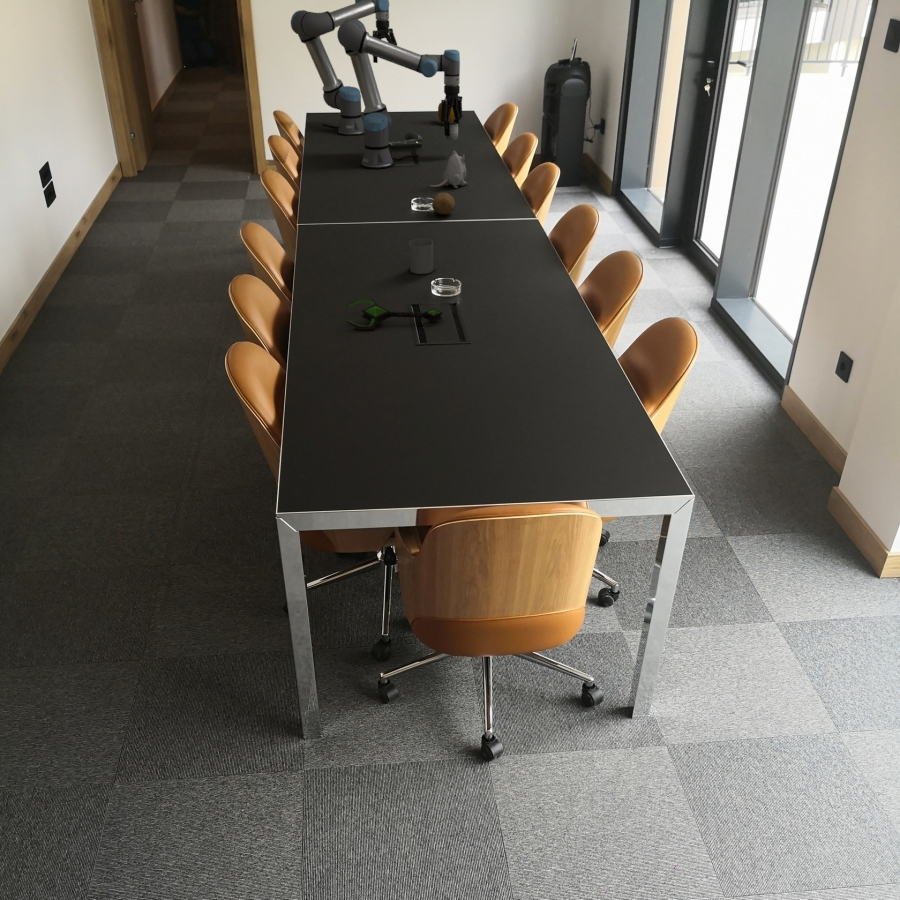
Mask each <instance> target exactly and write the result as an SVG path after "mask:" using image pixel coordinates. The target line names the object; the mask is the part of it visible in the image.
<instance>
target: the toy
mask: <svg viewBox="0 0 900 900" xmlns="http://www.w3.org/2000/svg"><path fill="white" fill-rule="evenodd" d="M466 178H467V168H466V156H465V153H463V154H462V155H459V154H458V153H457V151H456V150H455V149H453V150H452V153H451V155H450V156H449V158H448V161H447V163H446V166H445V170H444V171H443V177H442V179H443V181H442V182H441V183H439V184H436V185H435V184H433V185H432V184H430V185H428V186H429V187H434V188H440V187H443V186H446V187H448V186H449V185H451V186H453V188H455V189H459V187H458V186H461V187H462V186H467V185H468V182H467V181H465V180H466Z"/></svg>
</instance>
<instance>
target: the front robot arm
mask: <svg viewBox="0 0 900 900" xmlns="http://www.w3.org/2000/svg"><path fill="white" fill-rule="evenodd" d="M337 29H338V30H337V32H336V33H337V35H336V36H337V41H338V43H339V44H340V45H341V47H343V48H344V52H345V54H346V55H347V56H348V57H350V62H351V65H352V68H353V72H354V75H355V79H356V81H357V85H358V89H359V90H360V94H361V99H362V102H363V106H364V110H363V116H364V117H363V125H364V134H363V138H364V139H363V140H364V151H363V155H362V159H361V166H362V167H363V168H366V169H371V170H381V169H387V168H390V167H392V166H394V161H401V160H403V159H406V158H419V157H420V155H419V154H413V155H412V154H411V155H410V154H409V155H404V156H401V157H398V158H397V157H392V155H391V152H390V151H391V150H390V147H389V145H390V144H389V133H390V131H391V129H392V125H393V121H392V120H393V119H392V117H391V115H390V113H389V111H388V108H387V105H386V104H385V103H383V101H382V98H381V95H380V91H379V88H378V84H377V81H376V78H375V73H374V70H373V66H372V63H371V59H370V56H372V55H373V56H376V57H377V58H378V59H380V60H384V61H386V62H389V63H392V64H395V65H397V66H400V67H403V68H406V69H408V70H410V71H414V72H416V73H419V74H421V75H422V76H423V77H425V78H428V79H430V78H433V77H434V76H435V75H436V74H437V72H438V73H442V72H443V85H444V86H443V93H444V95H445V97H444V99H441V100H440V103H442V111H441V121H443V122H444V125H443V128H444V136H445V137H446V136H450V122H449V117H450V112H451V108H452V107H453V112H454V116H455V119H454V122H456V123H458V135H459V134H460V120H461V121H462V118H463V96H461V95H459V94H460V92H461V90H460V87H461V86H460V78H461V77H460V75H461V56H460V55H461V54H460V51H459V50H458V49H445V50H444V51H443V54H429V53H428V54H427V53H426V54H419V53H417V52H414V51H411V50H409V49H406V48H404V47H402V46H398V45H397V46H396V45H394V44H391V43H388V41H387V40H383V39H381V40H380V39H378V38H375V37H373V36H372V35H371V34H370V33H369V32H368V31H367V29H366V26H365V24H364V23H363V22H362V21H361V20H360V19H358V20H357V19H348V20H346V21H345V22H344V23H343V24H342V25H341V26H338V28H337ZM369 55H370V56H369ZM373 56H372V57H373ZM448 105H449V106H448ZM446 119H447V120H446Z"/></svg>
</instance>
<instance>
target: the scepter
mask: <svg viewBox="0 0 900 900" xmlns="http://www.w3.org/2000/svg"><path fill="white" fill-rule="evenodd" d="M360 303H368V304H370V305H371V306H369V307H367V308H364V309H362V310H360V312H361V313H362V315H361V317H362V318H363V319H366V320H367V321H369V322H370V324H368V325H361V324H357V323H355V322H353V321H350V320H345V322H346V323H347V324H349V325H351V326H352V327H354V328H355V329H358V330H366V331H367V330H369V331H370V330H374V328H375V327H376V325H377V324H380V323H381V322H384V321H386V320H388V319H390V318H412V319H413V318H416V319H417V318H418V319H421V318H423V319H425V320H427V321H429V322H433V323H435V322H437V321H440V320H442V319H443V317H442V314H443V312H442V311H440V310H437V309H435V308H431V309H429V310H426V311H424V312H422V311H418V312H413V311H409V312H408V311H391V310H389V309H387V308H385V307H383V306H381V305H380V304H377V302H376V301H375V300H374V299H373V298H359V299H356V300H354V301H352V302H350V303H348V304H346V307H352V306H355V305H357V304H360Z"/></svg>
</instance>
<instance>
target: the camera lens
mask: <svg viewBox="0 0 900 900" xmlns="http://www.w3.org/2000/svg"><path fill="white" fill-rule="evenodd" d="M445 139H446V140H447V141H457V140H458V139H459V134H458V123H456V122H450V136H445Z"/></svg>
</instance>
